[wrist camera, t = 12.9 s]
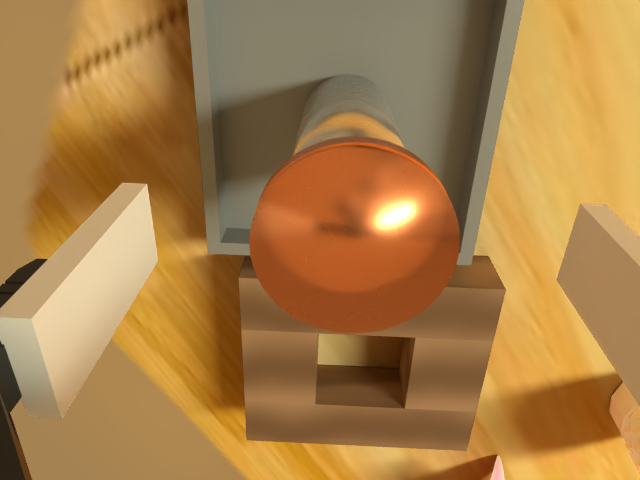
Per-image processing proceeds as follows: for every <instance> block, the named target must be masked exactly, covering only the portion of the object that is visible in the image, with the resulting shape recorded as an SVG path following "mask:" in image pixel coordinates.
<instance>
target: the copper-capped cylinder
mask: <svg viewBox="0 0 640 480" xmlns="http://www.w3.org/2000/svg"><path fill="white" fill-rule="evenodd" d="M249 248H250V257H251V261H252V265H253V268H254V271H255V273H256V276H257V278H258V280H259V282H260V284H261V285H262V287H263V289H264V290H265V291H266V293H267V294H268V295H269V296H270V298H271V299H272V300H273V301H274V302H275V303H276V304H277V305H278V306H279V307H280V308H281V309H283V310H284V311H285V312H287V313H288V314H289V315H291V316H293V317H294V318H296V319H298V320H299V321H301V322H304V323H306V324H308V325H310V326H313V327H316V328H319V329H322V330H327V331H332V332H338V333H368V332H375V331H380V330H384V329H387V328H390V327H393V326H396V325H399V324H401V323H403V322H405V321H407V320H409V319H411V318H413V317H414V316H416V315H418V314H419V313H420V312H422V311H423V310H424V309H426V308H427V307H428V306H429V305H430V304H431V303H432V302H433V301H434V300H435V299H436V298H437V297H438V296H439V295H440V294H441V292H442V291H443V290H444V288H445V287H446V285H447V284H448V282H449V280H450V279H451V277H452V274H453V272H454V269H455V267H456V264H457V260H458V256H459V249H460V230H459V225H458V220H457V216H456V213H455V211H454V208H453V205H452V203H451V201H450V199H449V197H448V195H447V193H446V191H445V189H444V187H443V185H442V183H441V182H440V180H439V178H438V177H437V176H436V174H435V173H434V172H433V170H432V169H431V168H430V167H429V166H428V165H427V164H426V163H425V162H424V161H423V160H421V159H420V158H419V157H417V156H416V155H415V154H413V153H412V152H410V151H408V150H407V149H405V146H404V143H403V141H402V138H401V135H400V133H399V130H398V127H397V125H396V122H395V119H394V116H393V114H392V111H391V108H390V106H389V103H388V100H387V98H386V96H385V95H384V93H383V92H382V90H381V89H380V88H379V87H378V86H377V85H376V84H375V83H373V82H372V81H370V80H369V79H367V78H364V77H362V76H358V75H353V74H342V75H336V76H333V77H330V78H328V79H326V80H325V81H323V82H321V83H320V84H319V85H318V86H317V87H316V88H315V89H314V90H313V91H312V92H311V94H310V95H309V97H308V99H307V101H306V103H305V106H304V110H303V114H302V118H301V122H300V126H299V130H298V135H297V139H296V143H295V147H294V151H293V155H292V157H291V158H289V159H288V160H287V161H286V162H284V163H283V164H282V165H281V166H280V167H279V168H278V169H277V170H276V171H275V173H274V174H273V175H272V177H271V178H270V180H269V181H268V182H267V184H266V186H265V188H264V190H263V192H262V194H261V197H260V199H259V202H258V205H257V208H256V211H255V214H254V217H253V220H252V224H251V229H250V239H249Z"/></svg>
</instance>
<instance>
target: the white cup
mask: <svg viewBox="0 0 640 480" xmlns="http://www.w3.org/2000/svg"><path fill="white" fill-rule="evenodd" d="M609 412H610V414H611V416H612V418H613V419H614V421H615V423H616V425H617V427H618V429H619V430H620V432H621V435H622V437H623V439H624V441H625V446H626V448H627V450H628V451H629V453H630V455H631V458H632V460H633V462H634V464H635V466H636V468H637V470H638V471H639V473H640V407H639V405H638V404H637V402H636V401H635V399H634V398H633V396H632V395H631V393H630V392H629V390H628V389H627V387H626V386H625V384H624V382H623V383H622V384H621V385H620V386H619V387H618V389H617V390H616V391H615V393H614V394H613V395H612V397H611V402H610V408H609Z"/></svg>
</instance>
